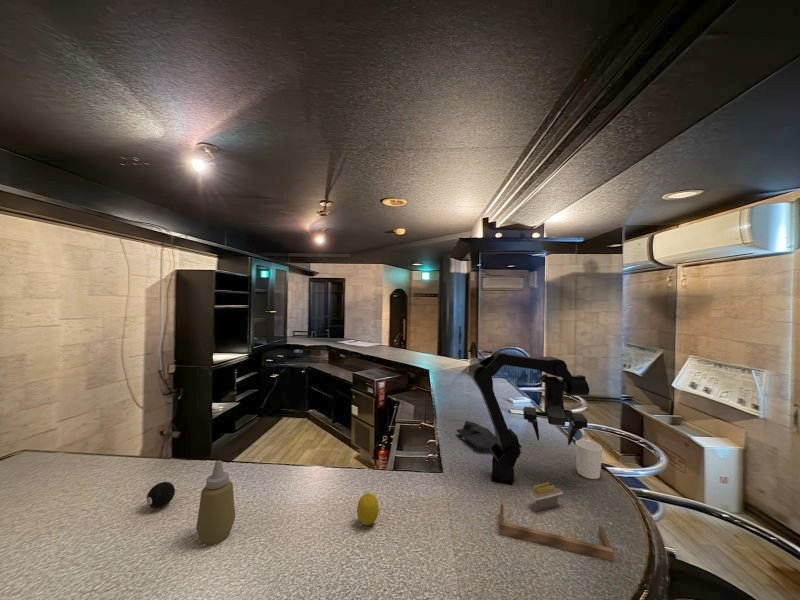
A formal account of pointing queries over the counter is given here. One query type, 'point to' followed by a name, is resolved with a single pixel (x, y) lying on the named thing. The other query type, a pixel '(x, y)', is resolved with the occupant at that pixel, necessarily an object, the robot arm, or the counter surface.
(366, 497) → the lemon
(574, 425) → the robot arm
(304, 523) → the counter surface
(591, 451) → the white cup
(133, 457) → the counter surface
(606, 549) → the frame
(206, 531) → the squeeze bottle
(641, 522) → the counter surface
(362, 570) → the counter surface
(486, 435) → the dark slate chunk
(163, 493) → the black ovoid
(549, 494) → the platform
